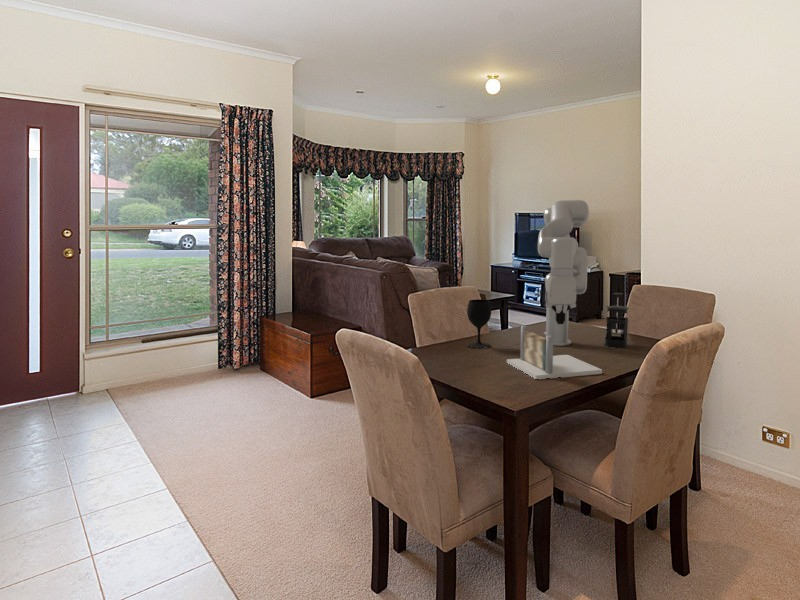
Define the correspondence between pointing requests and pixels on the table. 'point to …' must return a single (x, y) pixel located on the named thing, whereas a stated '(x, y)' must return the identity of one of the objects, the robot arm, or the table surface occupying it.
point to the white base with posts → (553, 363)
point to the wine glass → (479, 318)
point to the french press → (616, 340)
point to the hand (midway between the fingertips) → (560, 323)
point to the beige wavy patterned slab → (535, 349)
